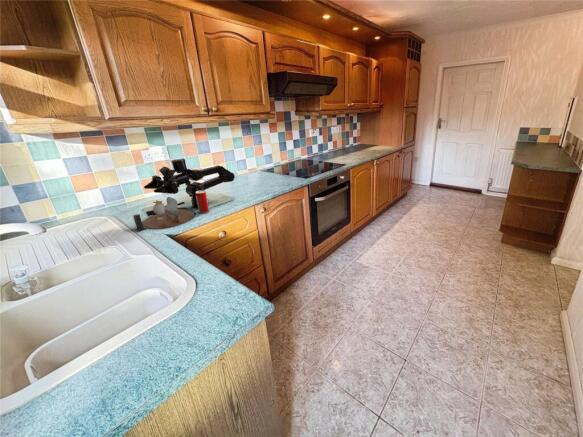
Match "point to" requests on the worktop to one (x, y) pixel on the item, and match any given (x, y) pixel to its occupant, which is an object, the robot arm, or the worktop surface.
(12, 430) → the worktop surface
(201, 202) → the soda can
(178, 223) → the turntable
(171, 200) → the decorative toy
